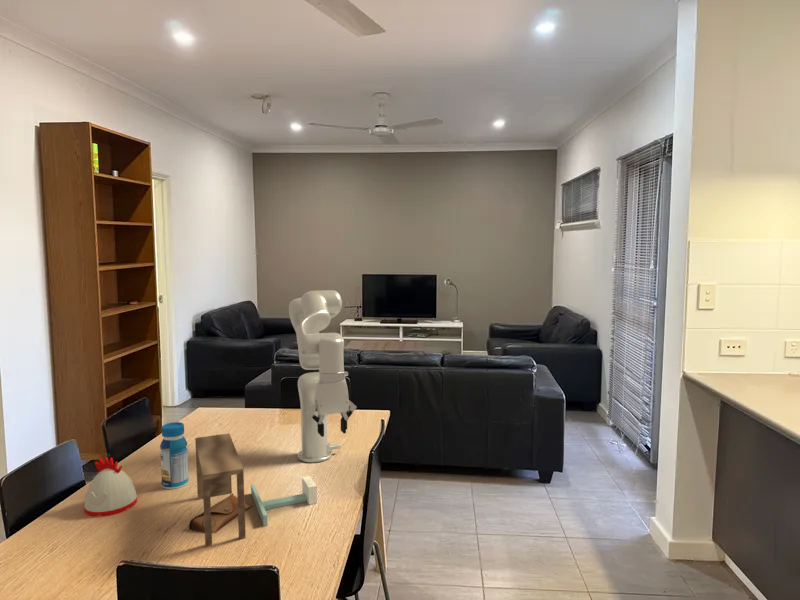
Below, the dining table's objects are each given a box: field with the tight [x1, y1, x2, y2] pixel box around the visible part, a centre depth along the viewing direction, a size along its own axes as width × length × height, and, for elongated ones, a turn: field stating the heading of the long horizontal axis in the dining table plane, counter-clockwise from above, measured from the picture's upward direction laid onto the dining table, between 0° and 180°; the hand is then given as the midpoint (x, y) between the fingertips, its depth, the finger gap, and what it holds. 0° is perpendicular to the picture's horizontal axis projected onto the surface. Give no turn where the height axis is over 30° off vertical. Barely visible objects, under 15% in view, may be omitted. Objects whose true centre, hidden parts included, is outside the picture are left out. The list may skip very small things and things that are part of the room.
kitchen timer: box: [83, 457, 138, 518], centre depth 159 cm, size 14×14×15 cm
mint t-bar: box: [250, 475, 318, 527], centre depth 160 cm, size 17×22×5 cm
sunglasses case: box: [188, 493, 253, 534], centre depth 152 cm, size 18×7×7 cm
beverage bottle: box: [159, 421, 190, 490], centre depth 173 cm, size 8×8×20 cm
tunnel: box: [194, 432, 247, 548], centre depth 152 cm, size 10×30×19 cm, turn 24°
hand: (332, 433), depth 165 cm, fingers open, 6 cm apart
